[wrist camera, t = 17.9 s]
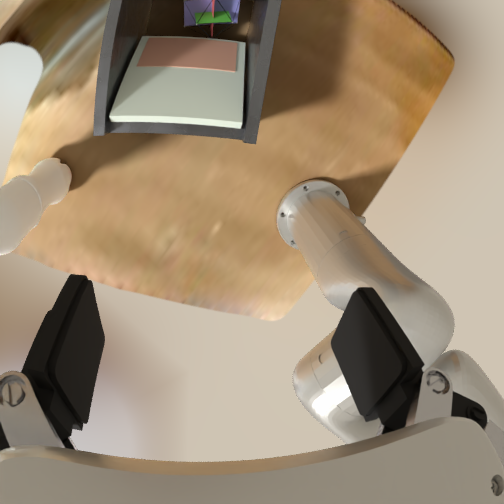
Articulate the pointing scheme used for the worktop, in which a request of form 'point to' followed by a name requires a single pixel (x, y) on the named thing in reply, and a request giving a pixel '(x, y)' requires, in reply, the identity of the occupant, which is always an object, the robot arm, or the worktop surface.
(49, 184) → the water bottle
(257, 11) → the bin
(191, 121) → the trapdoor
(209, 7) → the geometric puzzle
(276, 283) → the worktop surface
